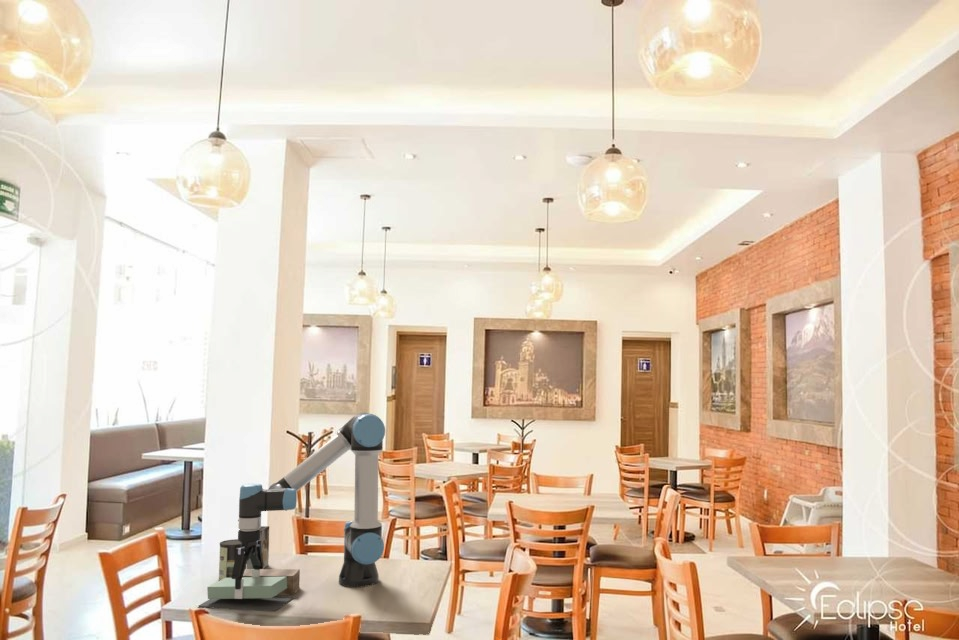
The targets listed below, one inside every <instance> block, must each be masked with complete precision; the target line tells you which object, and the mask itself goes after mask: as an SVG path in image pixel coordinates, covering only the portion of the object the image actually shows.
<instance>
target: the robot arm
mask: <svg viewBox="0 0 959 640" xmlns="http://www.w3.org/2000/svg"><path fill="white" fill-rule="evenodd" d="M385 434H386V427H385V424H384V421H383V420H382V419H381V418H380V417H379V416H378V415H376V414H373V413H367V412H361V413H358V414H355V415H353V416H352V417H351V418H350V420H348V421H347V422H346V423H345V424H344V425H343V426H342V427H340V428H339V429H338V430H337V431H336V435H335V436H333V437H332V438H331V439H330V440H328V441H327V442H326V443H324V444H323V445H322V446H321V447H319V448H318V449H316V450H315V451H314V452H313V453H312V454H311V455H309V456H308V457H307V458H306V459H305V460H303V461H302V462H300V463H299V464H298V465H297V466H296V467H294V468H292V470H290V471H289V472H288V473H287V474H286V475H284V476H283V477H282V478H281V479H279V480H278V481H277V482H275V483H273V484H271V485H270V486H269V487H268V489H264V488H263V485H262V484H261V483H247V484H246V483H245V484H242V485H241V486H240V488H239V500H238V502H239V503H238V507H239V508H238V520H237V521H238V531H237V539H238V541H239V542H241V543H242V545H241V548H237V549H236V557H235V562H234V567H233V572H232V579H235V597H234V599H243V584H244V579H242V577H243V574H244V571H245V567H246V568H247V561H248V560H249V559H250V560H251V563H252V566H253V569H252V577H260V569H263V557H262V550H261V540H260V535H261V530H260V529H259V528H260V527H261V526H262V512H272V511H277V512H279V511H292V510H295V509H297V502H298V500H297V499H298V497H297V494H298V493H297V492H299V490H301V489H302V488H303V487H305V486H306V485H307V484H309V482H311V481H312V480H314V479H315V478H316V477H317V476H318V475H320V474H321V473H322V472H323V471H325V470H326V469H327V468H329V466H331V465H333V463H334V462H336V461H337V460H338V459H339V458H341V457H342V456H343V455H344V454H346V453H347V452H348V451H351V452H352V453H353V454H354V457H355V458H354V511H353V512H354V516H353V517H354V520H349V521H346V522H345V523H344V529H343V531H344V536H343V538H344V539H343V542H344V543H343V544H344V545H343V563H342V566H341V569H340V572H339V576H338V584H339V585H341V586H344V587H351V588H352V587H353V588H359V587H360V588H361V586H362V587H368V585H369V586H373V585H375V584H377V583H378V582H379V581H378V580H379V578H380V577H379V572H378V569H377V565H376V562H377V561H379V559H380V558H382V556H383V553H384V551H385V543H384V539H383V537H382V535H383V530H382V527H383V525H382V522H381V521H379V514H378V513H379V455H380V453H381V452H383V448H384V447H383V445H384V443H383V441H384V439H385ZM376 582H377V583H376ZM372 584H373V585H372Z"/></svg>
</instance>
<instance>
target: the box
mask: <svg viewBox="0 0 959 640" xmlns="http://www.w3.org/2000/svg"><path fill="white" fill-rule="evenodd" d="M300 575H301V572H300V569H299V568H298V569H297V568H296V569H294V568H289V569H288V568H286V569H285V568H284V569H283V568H280V569H279V568H278V569H277V568H272V569H271V568H268V569H267V568H264V569H260V577H285V576H287V589H285V590H283V591H282V592H280V593H279V594H277V595H276V596H294V594H295V593H297V591H298V590H299V589H300V577H301V576H300ZM243 577H252V569H247V568H246V569H245V571H244V574H243Z"/></svg>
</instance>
